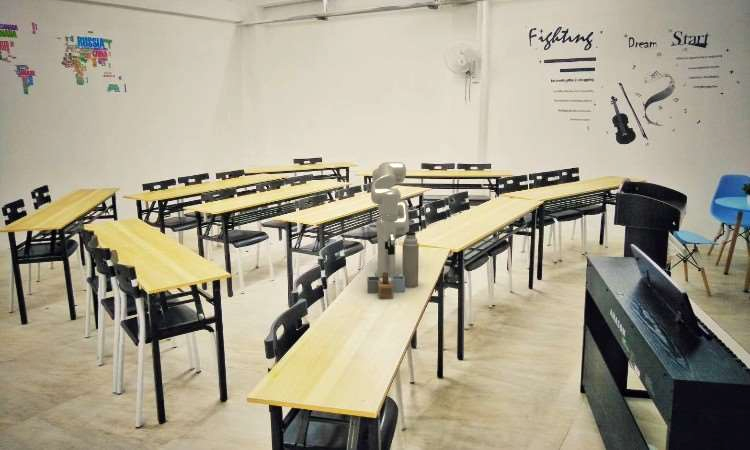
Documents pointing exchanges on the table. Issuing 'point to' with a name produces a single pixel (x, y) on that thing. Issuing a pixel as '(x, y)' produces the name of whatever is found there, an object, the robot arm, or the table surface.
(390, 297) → the oak box
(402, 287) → the square blue-grey bin
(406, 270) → the thermos bottle
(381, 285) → the lid
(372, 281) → the grey open storage bin
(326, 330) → the table surface
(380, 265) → the robot arm
